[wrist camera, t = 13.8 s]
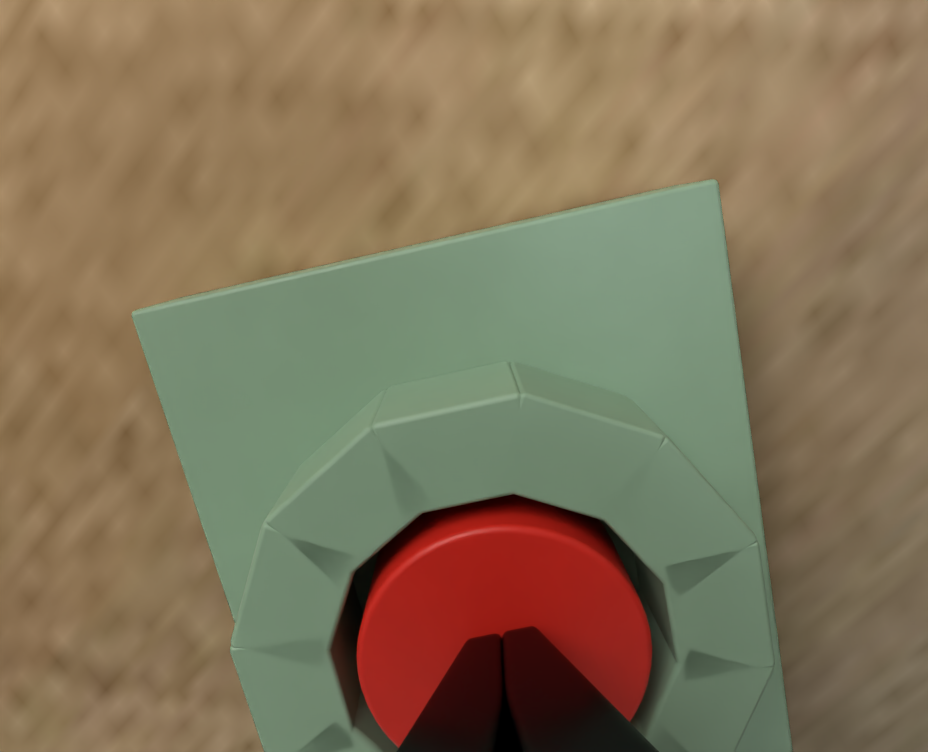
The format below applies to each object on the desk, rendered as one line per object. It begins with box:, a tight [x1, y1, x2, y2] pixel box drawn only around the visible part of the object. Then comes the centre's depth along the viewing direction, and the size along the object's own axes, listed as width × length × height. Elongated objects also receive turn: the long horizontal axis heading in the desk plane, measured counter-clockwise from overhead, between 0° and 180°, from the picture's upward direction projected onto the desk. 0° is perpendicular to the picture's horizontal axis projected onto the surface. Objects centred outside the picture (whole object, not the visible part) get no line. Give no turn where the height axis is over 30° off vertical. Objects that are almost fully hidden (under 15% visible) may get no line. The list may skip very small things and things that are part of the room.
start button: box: [356, 494, 652, 748], centre depth 9 cm, size 4×4×2 cm
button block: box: [132, 179, 793, 752], centre depth 10 cm, size 10×8×4 cm
